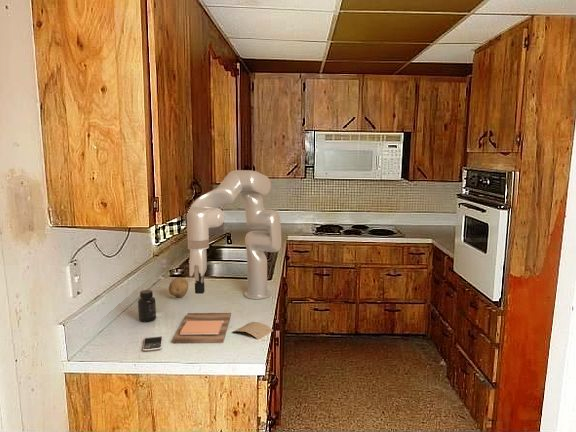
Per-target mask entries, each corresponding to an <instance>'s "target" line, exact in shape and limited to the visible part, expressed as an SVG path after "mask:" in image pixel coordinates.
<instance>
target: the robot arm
mask: <svg viewBox="0 0 576 432" xmlns="http://www.w3.org/2000/svg"><path fill="white" fill-rule="evenodd" d="M271 189H272V183H271V180H270V178H269V177H268V176H267V175H265V174H262V172H261V173H260V172H258V171H255V170H251V169H250V170H249V169H248V170H247V169H246V170H245V169H244V170H243V169H235V170H231V171H230V172H228V174H227V175H226V176H225V177H224V178H223V180H222V181H221V182H220V184H219V185H218V186H217V187H216V188H214V189H212V190H210V191H208V192H205V194H202V195H200V196H199V197H197V198H196V199H195V200H194V202H193V203H192V204H191V205H190V206H191V207H190V206H189V208H190V209H189V208H188V210H189V212H188V211H187V212H188V213H186V232H187V233H186V234H187V250H189V262H188V263H189V267H188V268H189V269H188V270H189V273H188V274H189V277H190V278H191V277H193V276H194V294H198V295H199V294H204V293H205V273H206V271H207V269H208V268H207V266H208V265H207V263H208V261H207V260H208V259H207V249H209V248H210V239H209V237H210V236H209V235H210V234H209V229H212V228H213V229H215V228H219V227H221V226H222V225H223V224H224V223H225V218H226V215H225V212H224V211H223V210H222V209H221V208H223V207H226V206H229V205H231V204H233V203H234V201H235V200H236V199H237V198H238V195H240V196H241V197H242V199H243V201H244V209H245V210H244V211H245V220H246V225H247V227H248V228H249V229H251V231H248V232H247V233H246V234H245V238H244V244H245V248H246V249H245V250H246V258H247V259H246V260H247V261H246V262H247V263H246V264H247V265H246V267H247V271H246V273H247V274H246V275H247V290H246V291H244V293H243V294H244V297H245V298H246V299H250V300H251V299H252V300H262V299H267V298H269V297H270V296H271V292H270V291H269V289H268V259H267V255H266V253H265V252H267V253H277V252H279V251H280V250H281V248H282V240H283V239H282V227H281V226H282V225H281V217H280V216H281V215H279V214H280V213H279V212H278V211H276V210H274V209H265V207H264V199H263V197H262V196H267V195H268V194H269V193H270V191H271ZM252 229H253V230H252Z"/></svg>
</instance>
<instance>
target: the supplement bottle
mask: <svg viewBox="0 0 576 432" xmlns="http://www.w3.org/2000/svg"><path fill="white" fill-rule="evenodd" d="M153 295H154V294H153V290H152V289H145V290H141V291H140V292H139V297H140V298H138V300H137V313H138V321H139V322H140V323H150V322H151V323H152V322H154V321H155V320H156V319H157V308H156V307H157V306H156V305H157V304H156V298H155V297H154V296H153Z"/></svg>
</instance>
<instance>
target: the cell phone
mask: <svg viewBox="0 0 576 432" xmlns="http://www.w3.org/2000/svg"><path fill="white" fill-rule="evenodd" d="M162 344H163V336H150V337H144V342H143V346H142V351H143V353H151V352H157V351H158V352H159V351H161V350H162Z"/></svg>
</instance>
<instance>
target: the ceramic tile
mask: <svg viewBox="0 0 576 432" xmlns="http://www.w3.org/2000/svg"><path fill="white" fill-rule="evenodd" d="M222 324H223V321H187V322H186V324H185V325H184V327H183V328H182V330H181V331H180V334H219V332H220V329H221V327H222Z"/></svg>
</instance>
